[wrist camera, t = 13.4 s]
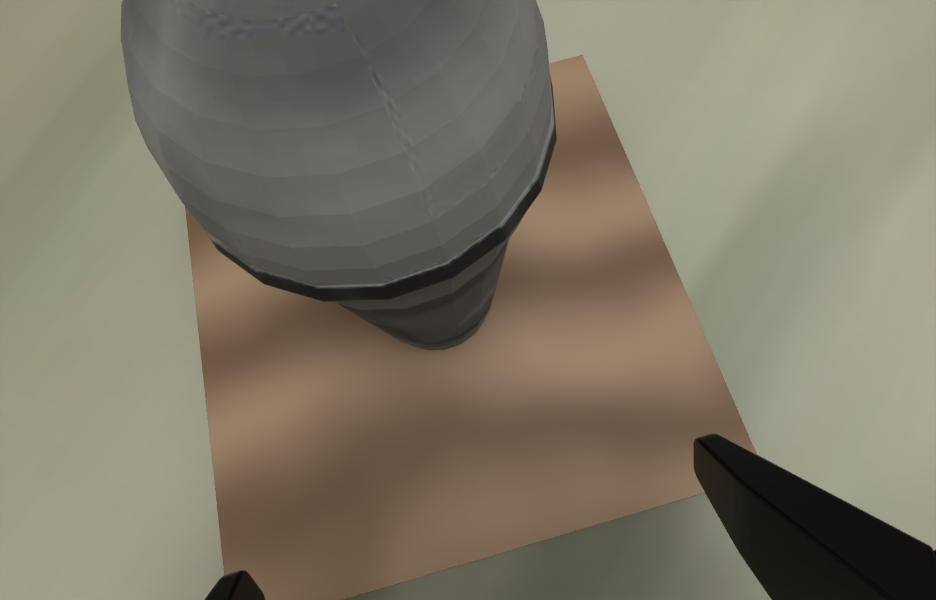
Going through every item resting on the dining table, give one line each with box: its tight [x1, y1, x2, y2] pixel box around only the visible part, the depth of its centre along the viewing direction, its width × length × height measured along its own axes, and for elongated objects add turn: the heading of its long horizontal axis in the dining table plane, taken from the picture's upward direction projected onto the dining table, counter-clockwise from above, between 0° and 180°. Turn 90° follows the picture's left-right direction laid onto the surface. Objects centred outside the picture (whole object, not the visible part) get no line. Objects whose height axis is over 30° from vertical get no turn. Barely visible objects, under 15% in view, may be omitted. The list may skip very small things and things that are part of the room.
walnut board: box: [185, 55, 757, 600], centre depth 21 cm, size 20×20×1 cm
